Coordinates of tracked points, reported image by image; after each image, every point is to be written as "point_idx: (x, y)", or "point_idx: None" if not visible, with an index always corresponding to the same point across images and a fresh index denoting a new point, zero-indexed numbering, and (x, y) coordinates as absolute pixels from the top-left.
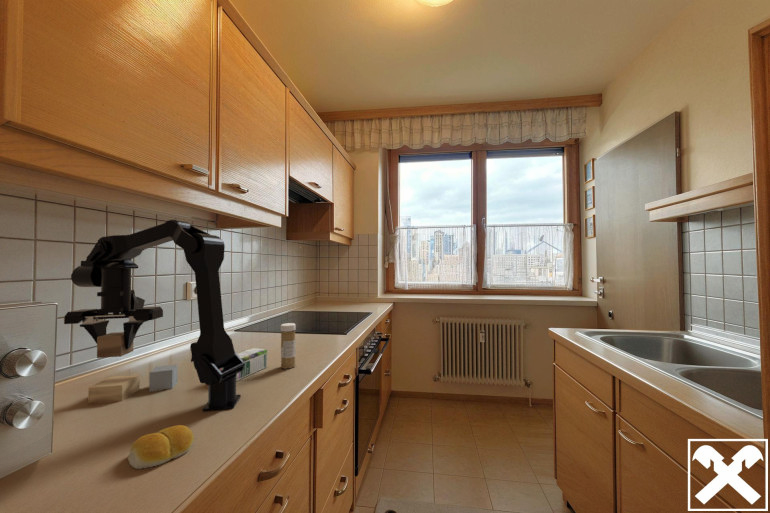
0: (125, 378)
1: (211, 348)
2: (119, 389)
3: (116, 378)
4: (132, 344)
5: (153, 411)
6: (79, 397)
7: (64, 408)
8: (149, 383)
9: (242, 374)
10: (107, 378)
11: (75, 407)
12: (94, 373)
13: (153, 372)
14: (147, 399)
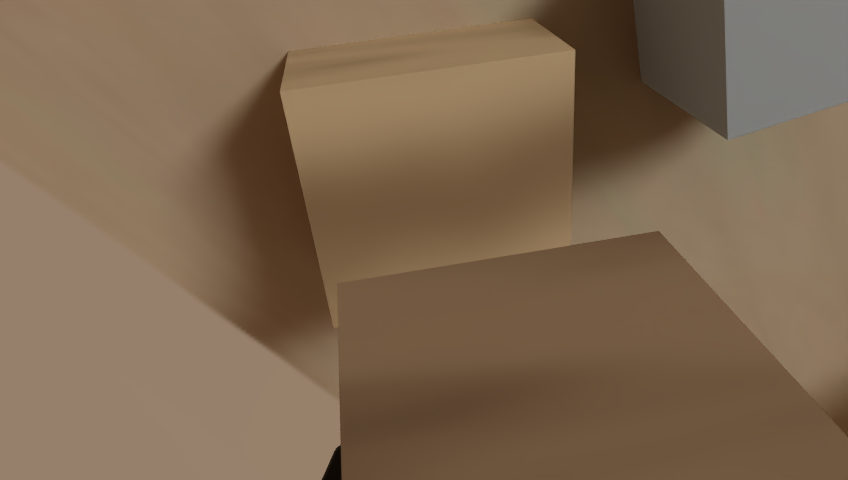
0: (491, 142)
1: None
2: None
3: (397, 135)
4: (715, 317)
5: (779, 349)
6: (138, 152)
7: (237, 313)
8: (673, 102)
9: None
10: (297, 127)
11: (298, 303)
12: None
13: (758, 125)
14: (688, 214)
